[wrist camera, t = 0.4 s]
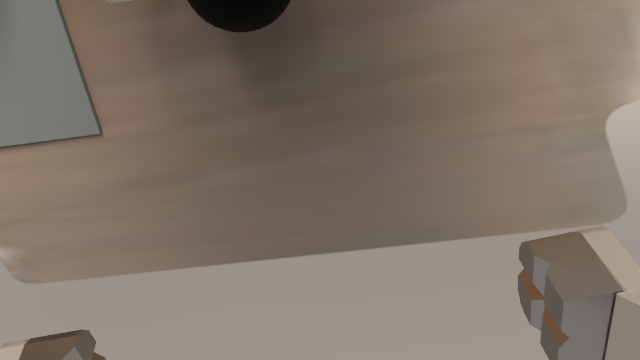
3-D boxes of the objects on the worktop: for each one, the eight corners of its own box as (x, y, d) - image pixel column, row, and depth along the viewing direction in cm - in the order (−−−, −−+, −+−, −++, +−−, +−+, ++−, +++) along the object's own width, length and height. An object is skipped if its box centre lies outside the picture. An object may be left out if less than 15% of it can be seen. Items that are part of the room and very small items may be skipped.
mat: (-85, 7, 52) (-89, 10, 51) (55, -9, 52) (52, -6, 52) (-19, 145, 60) (-22, 149, 59) (101, 130, 60) (100, 133, 60)
